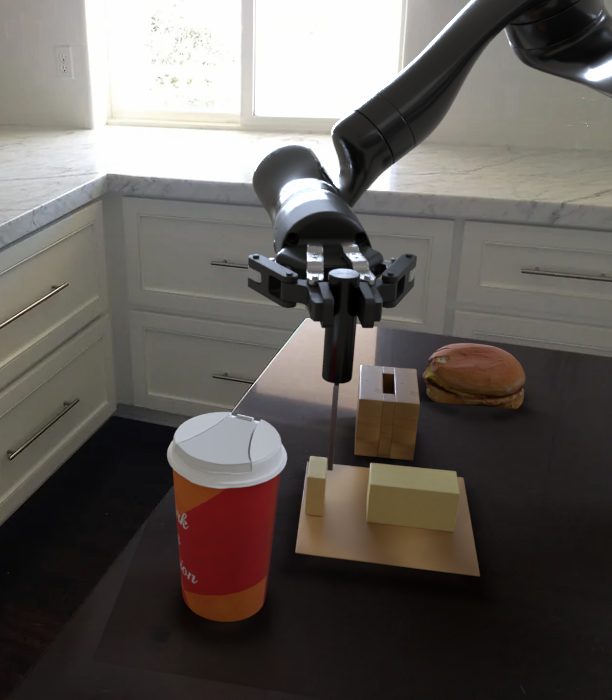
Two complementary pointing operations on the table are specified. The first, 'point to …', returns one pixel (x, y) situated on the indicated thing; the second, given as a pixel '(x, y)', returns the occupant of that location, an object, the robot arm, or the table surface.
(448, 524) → the butter
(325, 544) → the board
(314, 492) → the butter pat
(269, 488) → the paper cup
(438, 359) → the burger
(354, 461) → the table surface
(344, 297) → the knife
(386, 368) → the knife block
